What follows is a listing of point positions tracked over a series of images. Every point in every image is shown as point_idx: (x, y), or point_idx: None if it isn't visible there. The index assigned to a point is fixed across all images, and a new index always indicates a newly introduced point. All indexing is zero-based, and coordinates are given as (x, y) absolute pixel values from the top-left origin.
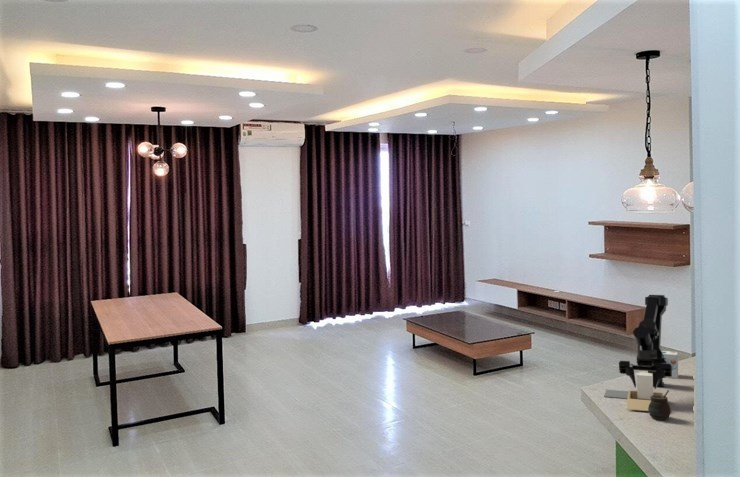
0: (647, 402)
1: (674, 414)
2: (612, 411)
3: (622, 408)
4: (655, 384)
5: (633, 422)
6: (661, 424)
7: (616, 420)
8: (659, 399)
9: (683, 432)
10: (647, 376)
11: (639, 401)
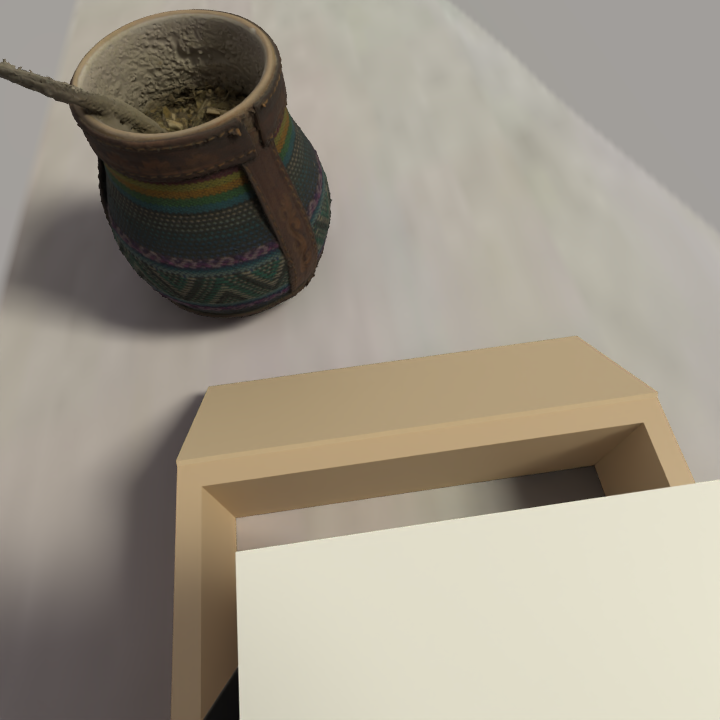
0: (380, 413)
1: (100, 439)
2: (678, 273)
3: None
4: (230, 709)
5: (418, 113)
6: None
7: (541, 103)
8: (172, 15)
9: None
10: (455, 522)
11: (483, 401)
